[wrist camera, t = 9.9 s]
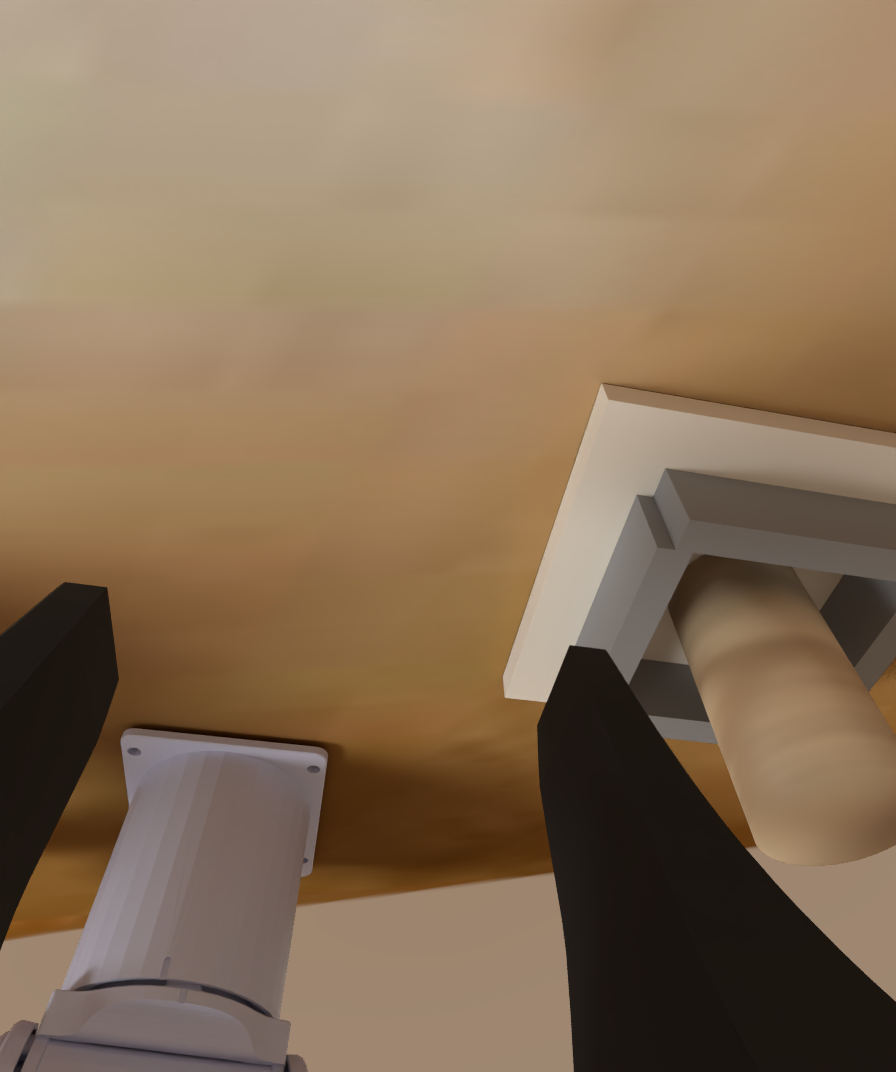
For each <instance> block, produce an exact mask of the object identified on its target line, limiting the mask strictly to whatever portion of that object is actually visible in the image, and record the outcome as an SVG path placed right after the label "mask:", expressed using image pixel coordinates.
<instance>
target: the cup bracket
mask: <svg viewBox="0 0 896 1072" xmlns="http://www.w3.org/2000/svg"><path fill="white" fill-rule="evenodd" d="M705 554H706V555H713V556H720V557H727V558H734V559H741V560H748V561H755V562H762V563H769V564H776V565H783V566H790V567H792V568H793V569H794V571H795V573H796V574H797V576H798V578H799V579H800V581H801V582H802V584H803V586H804V587H805V589H806V591H807V592H808V594H809V595H810V597H811V599H812V600H813V602H814V604H815V605H816V607H817V609H818V610H819V612H820V613H821V615H822V617H823V618H824V620H825V622H826V623H827V625H828V626H829V628H830V630H831V631H832V633H833V635H834V636H835V638H836V640H837V641H838V643H839V644H840V646H841V648H842V649H843V651H844V653H845V654H846V656H847V658H848V659H849V661H850V662H851V664H852V666H853V667H854V669H855V671H856V672H857V674H858V675H859V677H860V679H861V680H862V682H863V684H864V685H865V687H866V689H867V690H868V692H869V691H870V689H871V688H872V687H873V686H874V684H875V683H876V682H877V680H878V679H879V678H880V677H881V675H882V674H883V673H884V672H885V670H886V669H887V668H888V667H889V665H890V664H891V663H892V661H893V660H894V659H895V658H896V433H890V432H884V431H879V430H873V429H867V428H861V427H855V426H849V425H843V424H837V423H831V422H826V421H820V420H814V419H808V418H802V417H796V416H790V415H784V414H779V413H773V412H767V411H761V410H755V409H749V408H743V407H737V406H731V405H726V404H720V403H714V402H708V401H702V400H696V399H690V398H684V397H679V396H673V395H667V394H661V393H655V392H649V391H643V390H637V389H631V388H626V387H620V386H614V385H608V384H602V383H601V386H600V389H599V392H598V395H597V398H596V401H595V404H594V407H593V410H592V413H591V416H590V419H589V422H588V425H587V428H586V431H585V434H584V437H583V440H582V443H581V446H580V449H579V452H578V455H577V458H576V461H575V464H574V467H573V470H572V473H571V476H570V479H569V482H568V485H567V488H566V491H565V494H564V497H563V499H562V502H561V505H560V508H559V511H558V514H557V517H556V520H555V523H554V526H553V529H552V532H551V535H550V538H549V541H548V544H547V547H546V550H545V553H544V556H543V559H542V562H541V565H540V568H539V571H538V574H537V577H536V580H535V583H534V586H533V589H532V592H531V595H530V598H529V601H528V604H527V607H526V610H525V613H524V615H523V618H522V621H521V624H520V627H519V630H518V633H517V636H516V639H515V642H514V645H513V648H512V651H511V654H510V657H509V660H508V663H507V666H506V669H505V672H504V675H503V683H504V693H505V698H513V699H522V700H531V701H540V702H547V700H548V698H549V695H550V693H551V690H552V688H553V685H554V683H555V680H556V678H557V675H558V673H559V670H560V668H561V665H562V663H563V660H564V658H565V655H566V653H567V650H568V648H569V645H574V646H582V647H590V648H598V649H606V651H607V652H608V654H609V655H610V657H611V658H612V660H613V661H614V663H615V664H616V666H617V667H618V669H619V671H620V672H621V674H622V675H623V677H624V679H625V680H626V682H627V683H628V685H629V686H630V688H631V690H632V691H633V693H634V694H635V696H636V698H637V699H638V701H639V702H640V704H641V705H642V707H643V708H644V710H645V712H646V713H647V715H648V716H649V718H650V719H651V721H652V722H653V724H654V725H655V727H656V728H657V730H658V731H659V733H660V734H661V736H662V737H663V738H669V739H678V740H687V741H696V742H705V743H714V744H718V742H717V739H716V736H715V734H714V731H713V728H712V726H711V723H710V720H709V718H708V715H707V712H706V710H705V707H704V704H703V702H702V699H701V696H700V694H699V691H698V688H697V685H696V683H695V680H694V677H693V675H692V672H691V669H690V667H689V664H688V661H687V659H686V656H685V653H684V651H683V648H682V645H681V643H680V640H679V637H678V635H677V632H676V629H675V627H674V624H673V621H672V619H671V616H670V613H669V610H668V604H669V601H670V599H671V597H672V595H673V593H674V591H675V589H676V587H677V585H678V583H679V581H680V579H681V577H682V575H683V573H684V571H685V569H686V567H687V566H688V565H689V564H690V563H692V562H693V561H695V560H696V559H698V558H699V557H701V556H703V555H705Z"/></svg>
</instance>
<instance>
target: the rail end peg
mask: <svg viewBox="0 0 896 1072" xmlns="http://www.w3.org/2000/svg"><path fill="white" fill-rule="evenodd" d="M668 610H669V613H670V616H671V619H672V621H673V624H674V627H675V629H676V632H677V635H678V637H679V640H680V643H681V645H682V648H683V651H684V653H685V656H686V659H687V661H688V664H689V667H690V669H691V672H692V675H693V677H694V680H695V683H696V685H697V688H698V691H699V694H700V696H701V699H702V702H703V704H704V707H705V710H706V712H707V715H708V718H709V720H710V723H711V726H712V728H713V731H714V734H715V736H716V739H717V742H718V744H719V747H720V750H721V752H722V755H723V758H724V760H725V763H726V766H727V768H728V771H729V774H730V776H731V779H732V782H733V784H734V787H735V790H736V792H737V795H738V798H739V800H740V803H741V806H742V808H743V811H744V814H745V816H746V819H747V822H748V825H749V827H750V830H751V833H752V835H753V838H754V841H755V843H756V845H757V847H758V848H759V849H760V850H761V851H762V852H763V853H764V854H765V855H767V856H768V857H770V858H773V859H775V860H777V861H781V862H783V863H788V864H793V865H801V866H824V865H834V864H840V863H845V862H850V861H855V860H858V859H862V858H866V857H868V856H871V855H874V854H877V853H879V852H882V851H884V850H886V849H888V848H890V847H892V846H894V845H896V736H895V734H894V733H893V731H892V729H891V728H890V726H889V724H888V723H887V721H886V720H885V718H884V716H883V715H882V713H881V711H880V710H879V708H878V707H877V705H876V703H875V702H874V700H873V698H872V697H871V695H870V693H869V692H868V690H867V689H866V687H865V685H864V684H863V682H862V680H861V679H860V677H859V675H858V674H857V672H856V671H855V669H854V667H853V666H852V664H851V662H850V661H849V659H848V658H847V656H846V654H845V653H844V651H843V649H842V648H841V646H840V644H839V643H838V641H837V640H836V638H835V636H834V635H833V633H832V631H831V630H830V628H829V626H828V625H827V623H826V622H825V620H824V618H823V617H822V615H821V613H820V612H819V610H818V609H817V607H816V605H815V604H814V602H813V600H812V599H811V597H810V595H809V594H808V592H807V591H806V589H805V587H804V586H803V584H802V582H801V581H800V579H799V578H798V576H797V574H796V573H795V571H794V569H793V568H792V567H790V566H783V565H776V564H769V563H762V562H755V561H748V560H741V559H734V558H727V557H720V556H713V555H706V554H705V555H703V556H701V557H699V558H698V559H696V560H695V561H693V562H692V563H690V564H689V565H688V566H687V567H686V569H685V571H684V573H683V575H682V577H681V579H680V581H679V583H678V585H677V587H676V589H675V591H674V593H673V595H672V597H671V599H670V601H669V604H668Z"/></svg>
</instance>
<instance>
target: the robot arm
mask: <svg viewBox="0 0 896 1072" xmlns="http://www.w3.org/2000/svg"><path fill="white" fill-rule="evenodd" d="M118 680H119V678H118V670H117V662H116V654H115V646H114V638H113V630H112V622H111V614H110V606H109V598H108V590H107V587H100V586H92V585H84V584H75V583H67V582H65V583H63V584H62V585H60V586H59V587H57V588H56V589H55V590H54V591H53V592H51V593H50V594H49V595H48V596H46V597H45V598H44V599H43V600H42V601H40V602H39V603H38V604H37V605H36V606H34V607H33V608H32V609H31V610H30V611H28V612H27V613H26V614H25V615H24V616H23V617H21V618H20V619H19V620H18V621H17V622H15V623H14V624H13V625H12V626H11V627H9V628H8V629H7V630H6V631H4V632H3V633H2V634H1V635H0V949H1V947H2V944H3V942H4V939H5V936H6V934H7V931H8V929H9V926H10V923H11V921H12V918H13V916H14V913H15V911H16V908H17V906H18V904H19V902H20V899H21V897H22V895H23V893H24V890H25V888H26V886H27V884H28V882H29V879H30V877H31V875H32V873H33V871H34V869H35V867H36V865H37V863H38V861H39V859H40V857H41V855H42V853H43V851H44V849H45V847H46V845H47V843H48V841H49V839H50V837H51V835H52V833H53V831H54V829H55V827H56V825H57V823H58V821H59V819H60V817H61V815H62V813H63V811H64V809H65V807H66V805H67V803H68V801H69V799H70V797H71V795H72V793H73V791H74V789H75V786H76V784H77V782H78V780H79V778H80V776H81V774H82V772H83V770H84V768H85V766H86V764H87V762H88V760H89V758H90V756H91V754H92V751H93V749H94V747H95V745H96V743H97V741H98V738H99V735H100V733H101V730H102V727H103V724H104V722H105V719H106V716H107V713H108V710H109V707H110V704H111V701H112V698H113V695H114V692H115V689H116V686H117V683H118ZM537 733H538V761H539V779H540V790H541V796H542V803H543V809H544V815H545V821H546V827H547V834H548V840H549V845H550V851H551V857H552V863H553V869H554V875H555V881H556V887H557V893H558V899H559V905H560V910H561V916H562V923H563V931H564V938H565V947H566V955H567V970H568V982H569V997H570V1011H571V1026H572V1045H573V1063H574V1072H896V1002H895V1001H894V1000H893V999H892V998H891V997H890V996H889V995H888V994H887V993H885V992H884V991H883V990H882V989H881V988H880V987H879V986H878V985H877V984H876V983H874V982H873V981H872V980H871V979H870V978H869V977H868V976H867V975H866V974H865V973H864V972H863V971H862V970H861V969H860V968H858V967H857V966H856V965H855V964H854V963H853V962H852V961H851V960H850V959H849V958H848V957H847V956H846V955H845V954H844V953H843V952H842V951H841V950H840V949H839V948H838V947H837V946H836V945H835V944H834V943H833V942H832V941H831V940H830V939H829V938H828V937H827V936H826V935H825V934H824V933H823V932H822V931H821V930H820V929H819V928H818V927H817V926H816V925H815V924H814V923H813V922H812V921H811V920H810V919H809V918H808V917H807V916H806V915H805V914H804V913H803V912H802V911H801V910H800V909H799V908H798V907H797V906H796V905H795V904H794V902H793V901H792V900H791V899H790V898H789V897H788V896H787V895H786V894H785V893H784V892H783V891H782V890H781V888H780V887H779V886H778V885H777V884H776V883H775V882H774V881H773V880H772V878H771V877H770V876H769V875H768V874H767V873H766V872H765V870H764V869H763V868H762V867H761V866H760V865H759V863H758V862H757V861H756V860H755V859H754V858H753V857H752V855H751V854H750V853H749V852H748V851H747V850H746V849H745V847H744V846H743V845H742V844H741V843H740V841H739V840H738V839H737V838H736V837H735V835H734V834H733V833H732V832H731V831H730V829H729V828H728V827H727V826H726V824H725V823H724V822H723V820H722V819H721V818H720V817H719V815H718V814H717V813H716V811H715V810H714V809H713V807H712V806H711V805H710V803H709V802H708V801H707V800H706V798H705V797H704V796H703V794H702V793H701V792H700V790H699V789H698V787H697V786H696V785H695V783H694V782H693V781H692V779H691V778H690V776H689V775H688V774H687V772H686V771H685V769H684V768H683V766H682V765H681V764H680V762H679V761H678V759H677V758H676V756H675V755H674V753H673V752H672V751H671V749H670V748H669V746H668V745H667V743H666V742H665V740H664V739H663V737H662V736H661V734H660V733H659V731H658V730H657V728H656V727H655V725H654V724H653V722H652V721H651V719H650V718H649V716H648V715H647V713H646V712H645V710H644V708H643V707H642V705H641V704H640V702H639V701H638V699H637V698H636V696H635V694H634V693H633V691H632V690H631V688H630V686H629V685H628V683H627V682H626V680H625V679H624V677H623V675H622V674H621V672H620V671H619V669H618V667H617V666H616V664H615V663H614V661H613V660H612V658H611V657H610V655H609V654H608V652H607V651H606V649H598V648H590V647H582V646H574V645H569V648H568V650H567V653H566V655H565V658H564V660H563V663H562V665H561V668H560V670H559V673H558V675H557V678H556V680H555V683H554V685H553V688H552V690H551V693H550V695H549V698H548V700H547V703H546V705H545V708H544V710H543V712H542V715H541V717H540V720H539V722H538V725H537ZM120 742H121V750H122V757H123V765H124V772H125V780H126V787H127V795H128V802H129V810H128V812H127V815H126V818H125V820H124V823H123V826H122V828H121V831H120V834H119V836H118V839H117V842H116V844H115V847H114V850H113V852H112V855H111V858H110V860H109V863H108V866H107V868H106V871H105V874H104V876H103V879H102V882H101V884H100V887H99V890H98V892H97V895H96V898H95V900H94V903H93V906H92V908H91V911H90V914H89V916H88V919H87V922H86V924H85V927H84V930H83V933H82V935H81V938H80V941H79V943H78V946H77V949H76V951H75V954H74V957H73V959H72V962H71V965H70V967H69V970H68V973H67V975H66V978H65V981H64V983H63V986H62V989H61V990H59V989H58V990H54V991H53V992H52V995H51V998H50V1000H49V1003H48V1006H47V1008H46V1011H45V1013H44V1016H43V1019H42V1021H41V1024H40V1027H39V1029H38V1023H34V1022H30V1021H26V1020H21V1021H19V1022H17V1023H16V1024H14V1025H13V1027H12V1028H11V1030H10V1031H8V1032H6V1033H4V1034H3V1035H1V1036H0V1072H308V1070H307V1066H306V1063H305V1061H304V1060H303V1058H302V1057H300V1056H299V1055H286V1054H287V1047H288V1040H289V1033H290V1026H291V1023H290V1022H289V1021H285V1020H280V1019H279V1017H280V1010H281V1003H282V997H283V990H284V984H285V978H286V971H287V964H288V958H289V951H290V945H291V938H292V931H293V925H294V918H295V912H296V905H297V899H298V892H299V885H300V879H301V877H304V876H308V875H309V874H311V872H312V867H313V860H314V853H315V846H316V839H317V832H318V824H319V817H320V810H321V803H322V796H323V789H324V782H325V774H326V767H327V760H328V753H327V752H326V751H325V750H324V749H322V748H320V747H314V746H305V745H295V744H285V743H275V742H266V741H256V740H246V739H236V738H227V737H217V736H207V735H198V734H188V733H178V732H168V731H159V730H149V729H139V728H130V729H127V730H125V731H124V733H123V735H122V737H121V741H120ZM37 1029H38V1032H37Z"/></svg>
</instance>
